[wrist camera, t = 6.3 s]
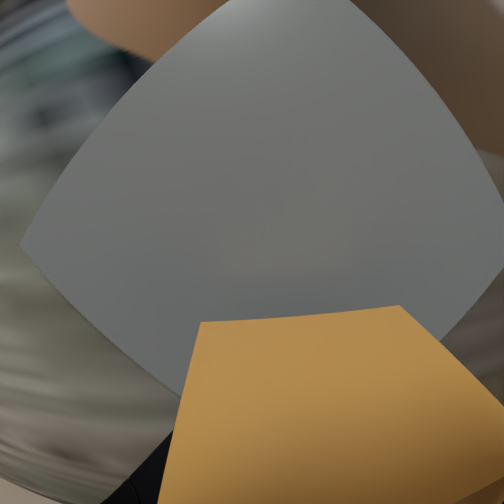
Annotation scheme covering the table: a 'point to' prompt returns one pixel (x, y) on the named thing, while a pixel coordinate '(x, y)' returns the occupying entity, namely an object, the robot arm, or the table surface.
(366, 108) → the plate
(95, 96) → the table surface
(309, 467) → the matte amber box
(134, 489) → the robot arm
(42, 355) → the table surface
